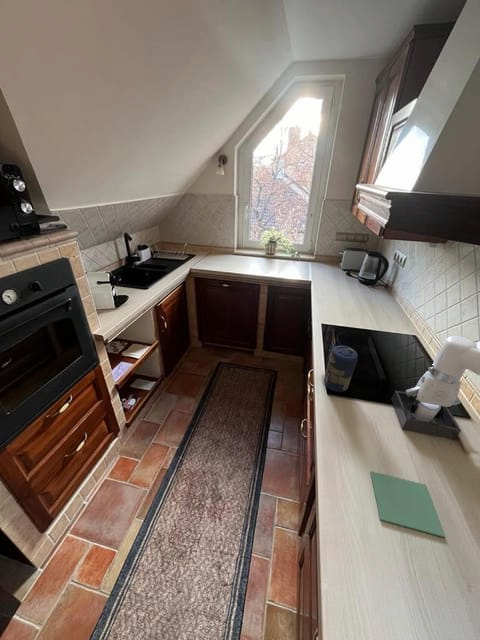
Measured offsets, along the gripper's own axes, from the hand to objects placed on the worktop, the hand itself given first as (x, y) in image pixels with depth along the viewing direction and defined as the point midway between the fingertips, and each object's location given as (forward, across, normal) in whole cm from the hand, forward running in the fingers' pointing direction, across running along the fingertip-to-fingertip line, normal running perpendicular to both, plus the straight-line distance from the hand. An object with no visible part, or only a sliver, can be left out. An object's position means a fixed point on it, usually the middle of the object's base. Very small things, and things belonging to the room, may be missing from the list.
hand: (423, 412), depth 88 cm
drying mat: (+3, -14, -31) cm, 34 cm away
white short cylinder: (+2, 0, 0) cm, 2 cm away
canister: (+3, -28, +9) cm, 30 cm away
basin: (+3, 0, 0) cm, 3 cm away
